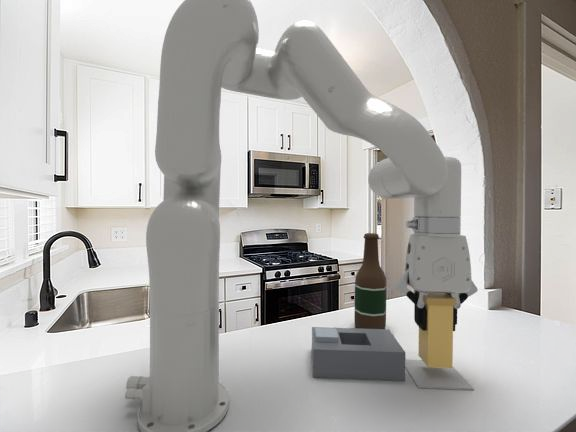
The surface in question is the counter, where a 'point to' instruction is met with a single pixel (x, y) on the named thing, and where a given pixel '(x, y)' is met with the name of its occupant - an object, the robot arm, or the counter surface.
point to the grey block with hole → (357, 354)
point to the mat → (435, 376)
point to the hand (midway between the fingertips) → (435, 326)
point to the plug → (438, 331)
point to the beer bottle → (370, 288)
